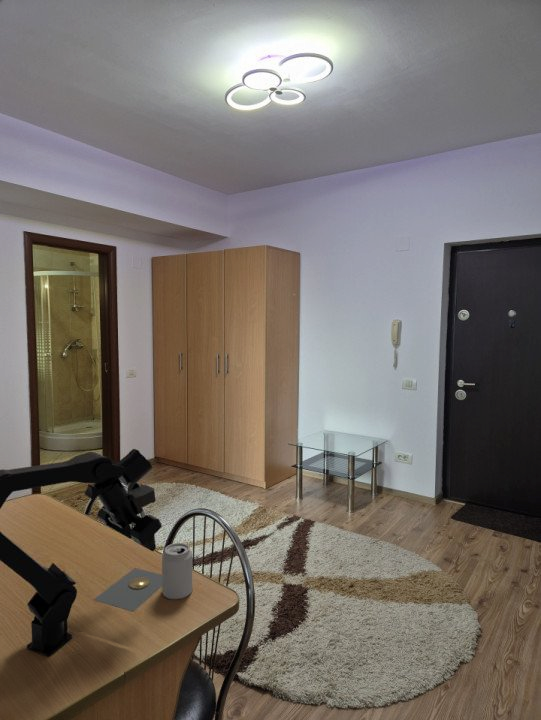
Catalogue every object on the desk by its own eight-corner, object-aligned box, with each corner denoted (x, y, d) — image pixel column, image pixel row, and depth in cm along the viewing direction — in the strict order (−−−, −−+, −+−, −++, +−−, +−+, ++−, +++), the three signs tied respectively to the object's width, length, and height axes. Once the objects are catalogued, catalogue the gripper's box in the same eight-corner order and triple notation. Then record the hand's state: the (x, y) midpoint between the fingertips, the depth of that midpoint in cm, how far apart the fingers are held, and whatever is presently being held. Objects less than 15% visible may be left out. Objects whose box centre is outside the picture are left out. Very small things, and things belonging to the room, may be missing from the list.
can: (186, 604, 115) (185, 557, 114) (157, 600, 116) (156, 553, 115) (196, 587, 122) (196, 542, 121) (169, 583, 123) (169, 539, 122)
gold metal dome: (141, 591, 119) (141, 589, 119) (124, 586, 121) (124, 585, 121) (153, 580, 124) (153, 579, 124) (137, 576, 125) (137, 575, 125)
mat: (133, 613, 111) (133, 611, 111) (93, 602, 115) (93, 599, 115) (172, 579, 126) (172, 577, 125) (135, 569, 130) (135, 567, 130)
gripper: (164, 484, 108) (189, 530, 115) (119, 465, 120) (144, 508, 127) (127, 520, 101) (156, 567, 109) (83, 496, 113) (112, 540, 121)
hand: (142, 543), depth 116 cm, fingers open, 9 cm apart
